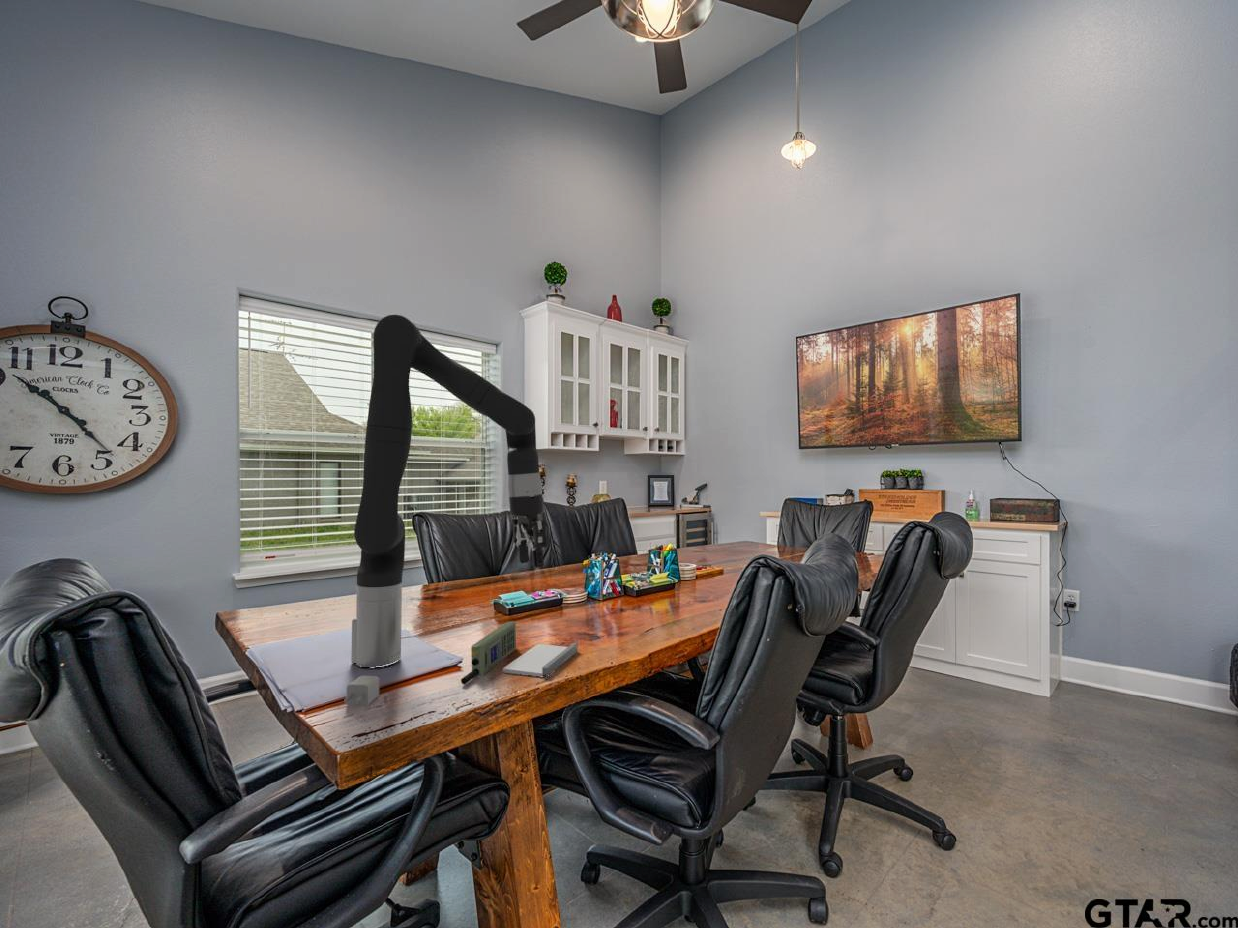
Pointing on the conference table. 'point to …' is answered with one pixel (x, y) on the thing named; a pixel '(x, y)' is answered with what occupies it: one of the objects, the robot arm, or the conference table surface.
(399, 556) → the robot arm
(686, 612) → the conference table surface
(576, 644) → the charging dock
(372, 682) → the usb wall charger
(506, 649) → the handheld radio
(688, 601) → the conference table surface
